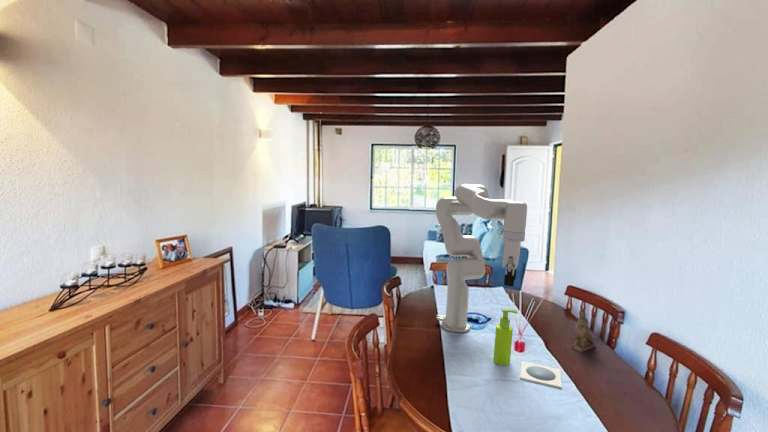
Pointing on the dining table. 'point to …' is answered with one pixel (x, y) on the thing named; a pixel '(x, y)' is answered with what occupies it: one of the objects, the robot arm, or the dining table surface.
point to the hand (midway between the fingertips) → (509, 282)
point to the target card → (541, 374)
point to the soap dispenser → (503, 339)
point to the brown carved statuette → (582, 334)
